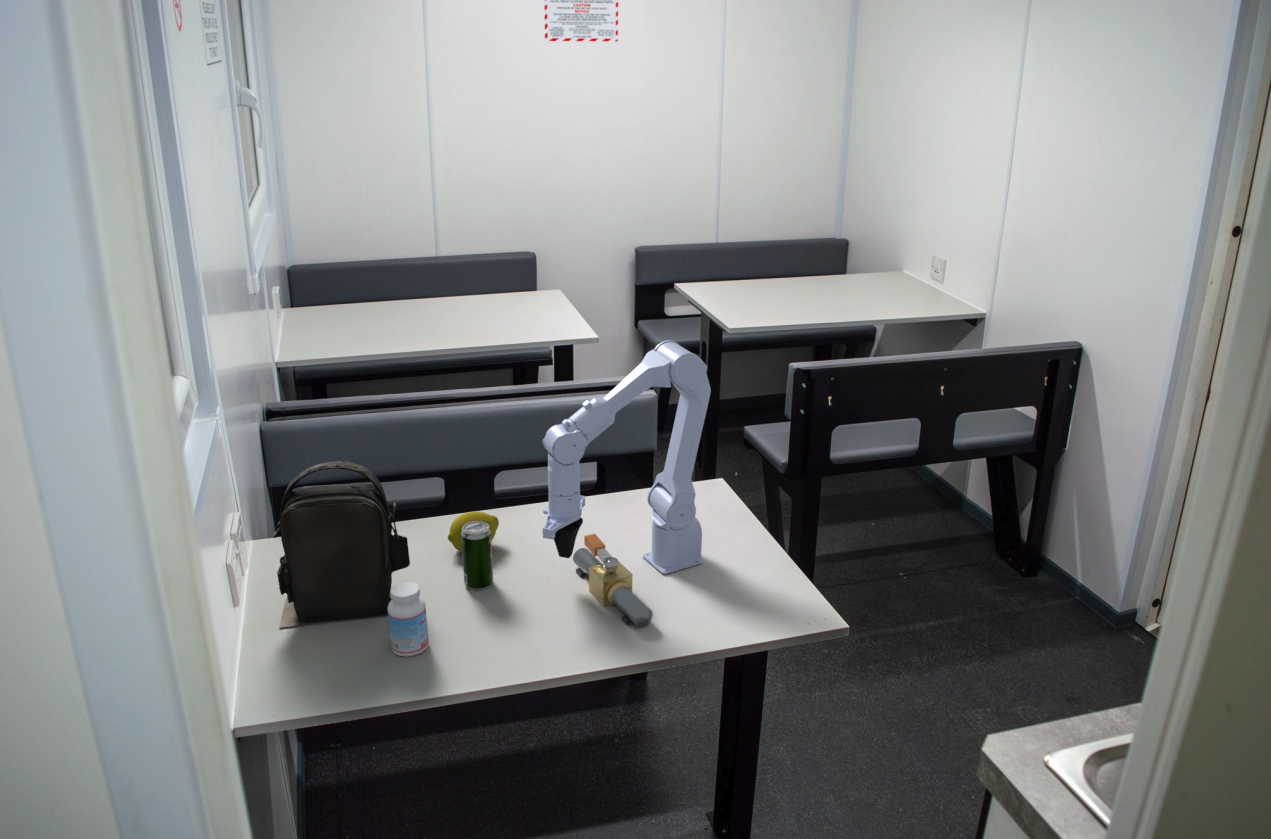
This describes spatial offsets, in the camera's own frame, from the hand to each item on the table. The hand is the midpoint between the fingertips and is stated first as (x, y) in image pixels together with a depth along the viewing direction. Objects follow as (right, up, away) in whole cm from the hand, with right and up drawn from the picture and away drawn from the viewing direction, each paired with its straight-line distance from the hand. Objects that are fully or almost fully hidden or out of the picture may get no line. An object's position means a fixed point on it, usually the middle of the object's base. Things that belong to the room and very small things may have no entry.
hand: (565, 555), depth 167 cm
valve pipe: (+8, -7, -1) cm, 11 cm away
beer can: (-16, -6, +1) cm, 17 cm away
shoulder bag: (-38, -8, -6) cm, 40 cm away
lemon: (-19, -1, +14) cm, 24 cm away
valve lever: (+7, -1, 0) cm, 7 cm away
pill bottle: (-25, -13, -17) cm, 33 cm away
